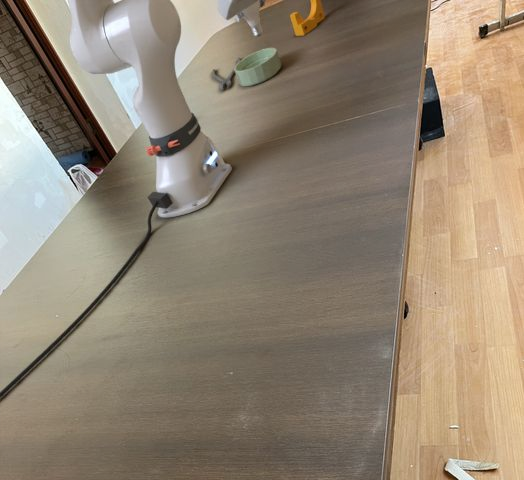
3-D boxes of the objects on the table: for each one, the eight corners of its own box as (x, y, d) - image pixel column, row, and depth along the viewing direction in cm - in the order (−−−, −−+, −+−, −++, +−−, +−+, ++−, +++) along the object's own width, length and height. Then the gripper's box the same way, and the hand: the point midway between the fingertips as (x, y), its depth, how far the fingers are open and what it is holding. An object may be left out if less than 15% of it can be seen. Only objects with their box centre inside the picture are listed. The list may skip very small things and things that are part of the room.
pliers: (239, 56, 175) (240, 80, 157) (240, 59, 175) (241, 82, 158) (212, 69, 177) (209, 93, 160) (213, 71, 178) (211, 96, 161)
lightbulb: (265, 28, 139) (250, -16, 132) (273, 31, 134) (258, -15, 127) (245, 40, 139) (229, -4, 132) (252, 43, 134) (236, -3, 127)
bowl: (277, 78, 149) (271, 61, 145) (236, 92, 154) (229, 76, 151) (285, 59, 157) (280, 42, 154) (245, 73, 163) (239, 57, 160)
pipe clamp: (304, 35, 166) (298, 14, 162) (295, 35, 169) (289, 15, 165) (328, 17, 169) (323, -4, 165) (319, 18, 172) (314, -3, 168)
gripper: (278, -64, 121) (271, -16, 135) (214, -23, 118) (213, 22, 131) (295, -45, 121) (285, 1, 135) (231, -3, 118) (228, 40, 131)
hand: (249, 12), depth 133 cm, fingers closed on lightbulb, 6 cm apart
